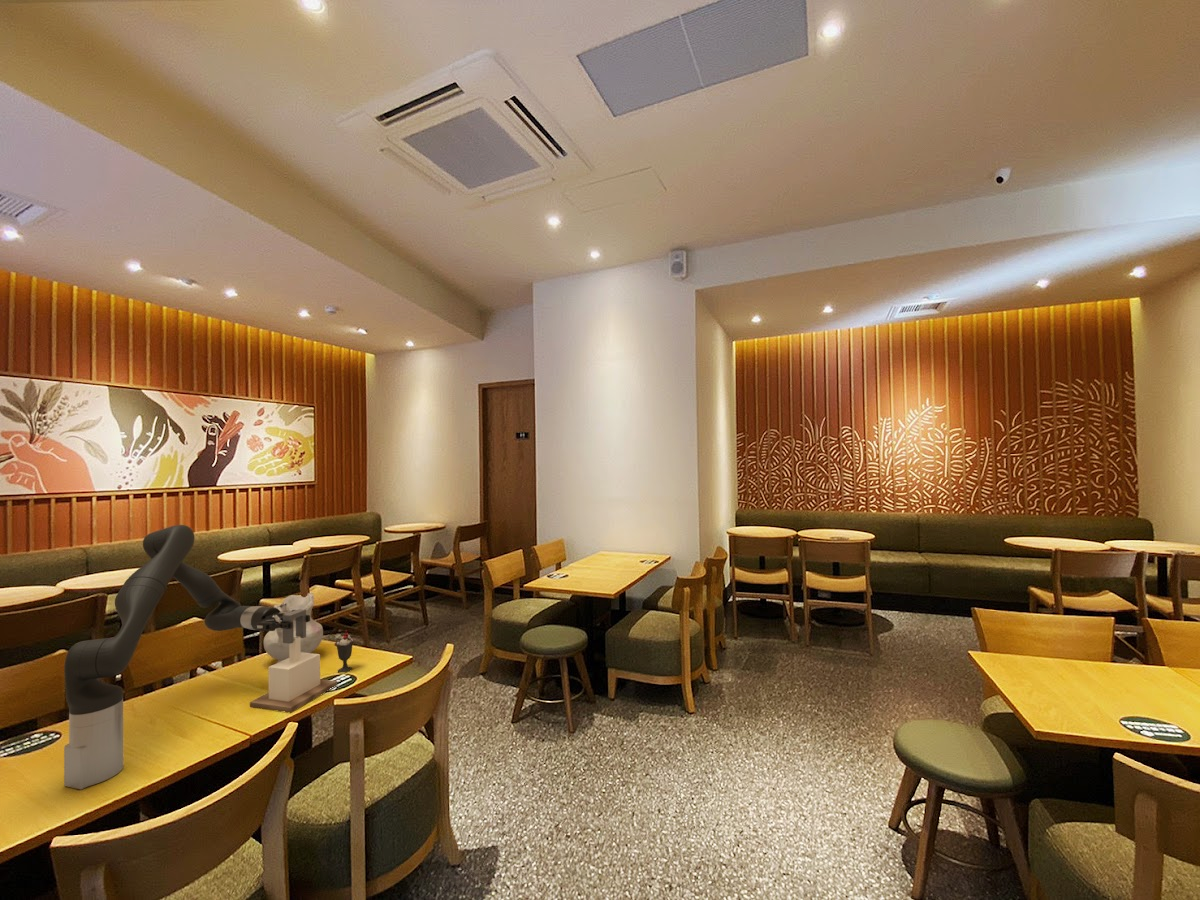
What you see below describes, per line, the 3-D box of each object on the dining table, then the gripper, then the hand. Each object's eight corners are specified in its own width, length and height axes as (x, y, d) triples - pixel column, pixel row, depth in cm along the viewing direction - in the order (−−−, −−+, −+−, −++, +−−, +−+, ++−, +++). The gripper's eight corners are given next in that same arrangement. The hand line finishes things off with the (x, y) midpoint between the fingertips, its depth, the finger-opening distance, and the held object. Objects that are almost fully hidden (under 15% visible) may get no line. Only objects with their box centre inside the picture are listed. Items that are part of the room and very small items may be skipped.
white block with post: (288, 701, 151) (288, 645, 151) (268, 698, 153) (268, 643, 153) (320, 684, 162) (319, 631, 163) (301, 681, 164) (300, 630, 165)
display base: (290, 712, 147) (290, 707, 147) (249, 706, 151) (249, 702, 151) (337, 685, 164) (337, 681, 164) (299, 681, 168) (299, 676, 168)
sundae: (346, 674, 173) (346, 632, 173) (330, 673, 174) (330, 631, 174) (359, 666, 179) (358, 626, 179) (343, 665, 180) (343, 625, 181)
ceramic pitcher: (315, 671, 178) (320, 603, 180) (252, 677, 171) (258, 606, 173) (324, 650, 198) (329, 589, 200) (268, 654, 191) (274, 591, 193)
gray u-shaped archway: (290, 643, 155) (290, 615, 155) (282, 642, 155) (282, 614, 155) (306, 636, 160) (305, 609, 160) (299, 636, 161) (298, 609, 161)
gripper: (239, 613, 155) (280, 617, 150) (279, 600, 169) (318, 603, 164) (239, 637, 155) (281, 641, 150) (280, 622, 169) (319, 625, 164)
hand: (300, 621), depth 157 cm, fingers closed on gray u-shaped archway, 6 cm apart
